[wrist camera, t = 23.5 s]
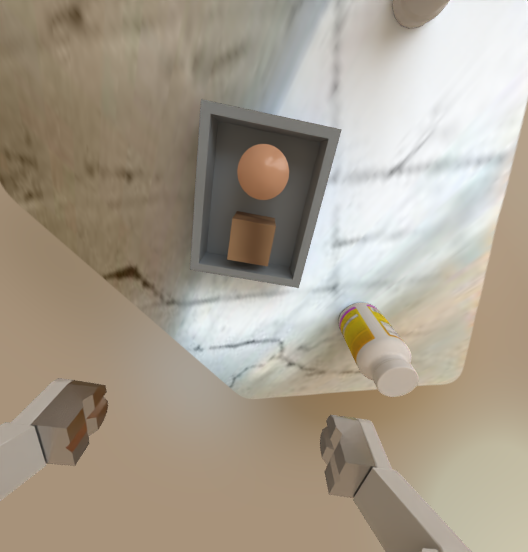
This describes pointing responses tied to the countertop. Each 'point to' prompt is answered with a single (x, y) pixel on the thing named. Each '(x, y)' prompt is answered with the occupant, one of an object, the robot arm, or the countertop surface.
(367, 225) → the countertop surface
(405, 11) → the bottle
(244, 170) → the cylinder
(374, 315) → the supplement bottle
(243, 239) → the cube
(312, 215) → the tote
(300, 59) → the countertop surface
